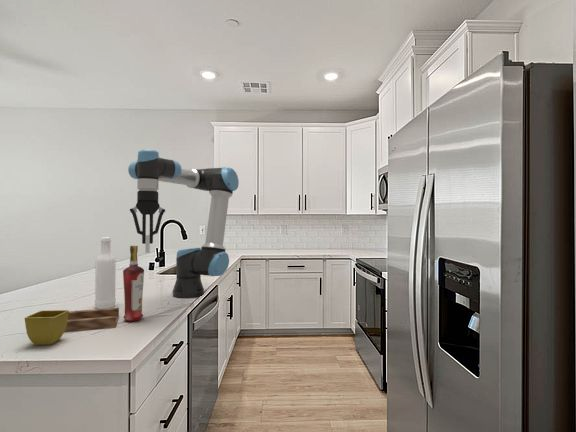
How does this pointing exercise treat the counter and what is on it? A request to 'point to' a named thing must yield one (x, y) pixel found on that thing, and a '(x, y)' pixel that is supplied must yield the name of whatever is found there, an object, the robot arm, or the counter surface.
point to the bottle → (105, 277)
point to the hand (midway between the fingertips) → (147, 252)
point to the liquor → (133, 288)
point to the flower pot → (46, 326)
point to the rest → (92, 319)
